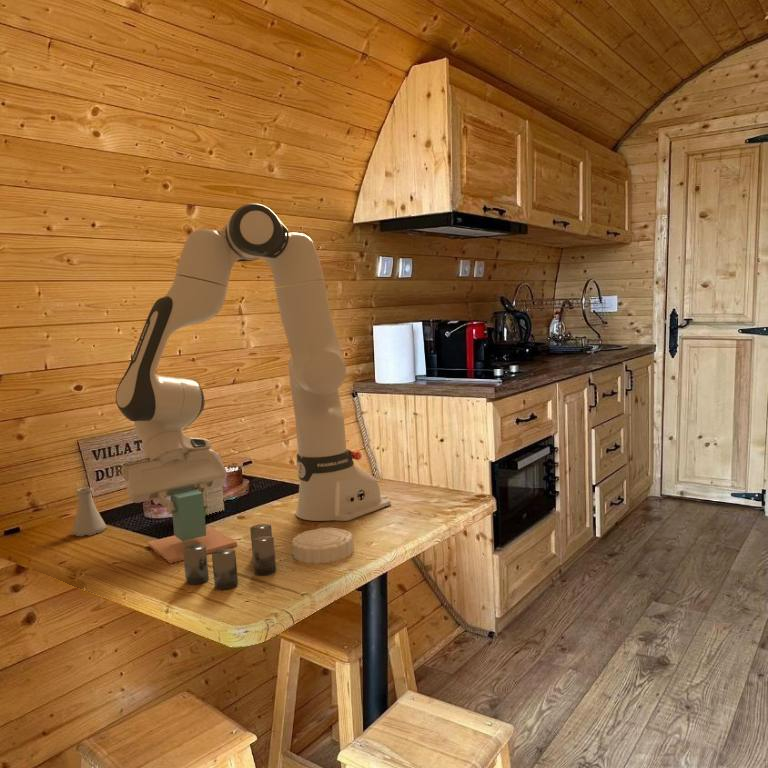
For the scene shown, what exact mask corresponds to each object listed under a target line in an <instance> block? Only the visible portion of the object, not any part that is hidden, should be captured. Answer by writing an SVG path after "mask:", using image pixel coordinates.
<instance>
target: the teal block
mask: <svg viewBox="0 0 768 768" xmlns="http://www.w3.org/2000/svg"><path fill="white" fill-rule="evenodd" d="M169 497H170V502H175V503H176V506H177V512H176V513H172V514H171V515H172V525H173V536H176V537H177V538H178V539H180V540H181V541H187V540H191V539H195V538H199V537H203V536H206V516H205V514H204V503H203V493H202V492H200V491H198V490H196V489H189V490H184V491H180V492H175V493H170V496H169Z"/></svg>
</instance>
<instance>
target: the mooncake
mask: <svg viewBox="0 0 768 768" xmlns="http://www.w3.org/2000/svg"><path fill="white" fill-rule="evenodd" d="M354 545H355V542H354V535H353V534H352V533H351V532H350V531H348V530H346V529H343V528H342V529H341V528H336V527H335V528H334V527H331V526H330V527H319V528H316V529H310V530H305V531H303V532H300V533H298V534H297V535H296V536H295V537H293V538H292V540H291V551H292V552H291V553H292V557H293V559H294V560H297V561H298V562H300V563H301V562H302V563H303V562H304V563H306V564H311V563H312V564H316V565H317V564H328V563H330V562H331V563H334V562H335V563H336V562H338V561H340V560H344V559H345V558H347V557H350V556H351V554H352V553H354V551H355V550H354V549H355V546H354Z"/></svg>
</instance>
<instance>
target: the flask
mask: <svg viewBox="0 0 768 768" xmlns="http://www.w3.org/2000/svg"><path fill="white" fill-rule="evenodd" d="M92 491H93V487H82V488H78V489H77V490H76V491H75V493H76V494H77V496H78V505H77V509H76V515H75V519H74V523H73V526H72V528H71V529H72V530H71V533H70V535H71V536H74V535H76V536H75V537H85V536H84V535H88V536H94V535H97V534H98V533H102V532H104V531H105V530H106V529H107V527H108V526H107V525H106V523H105V521H104V519H103V518H102V516H101V514H100V513H99V510H98V508H97V507H96V505H95V502H94V498H93V495H92ZM105 528H106V529H105ZM96 533H97V534H96ZM93 534H94V535H93Z"/></svg>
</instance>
